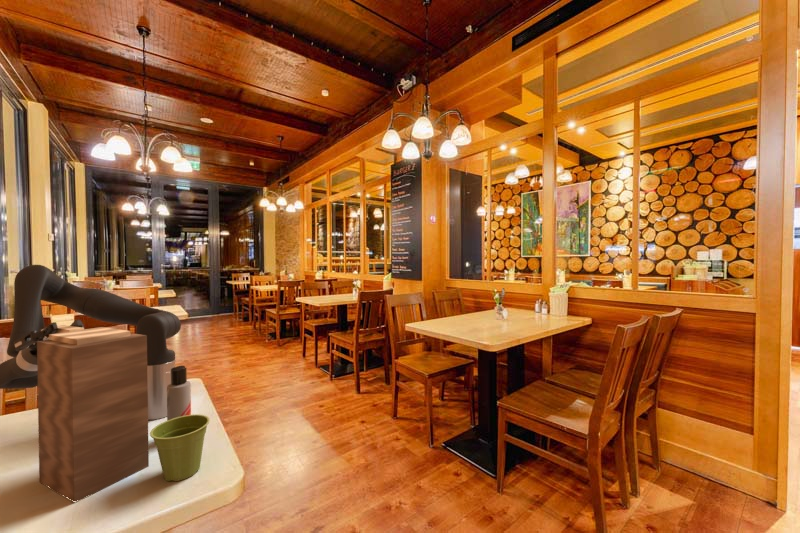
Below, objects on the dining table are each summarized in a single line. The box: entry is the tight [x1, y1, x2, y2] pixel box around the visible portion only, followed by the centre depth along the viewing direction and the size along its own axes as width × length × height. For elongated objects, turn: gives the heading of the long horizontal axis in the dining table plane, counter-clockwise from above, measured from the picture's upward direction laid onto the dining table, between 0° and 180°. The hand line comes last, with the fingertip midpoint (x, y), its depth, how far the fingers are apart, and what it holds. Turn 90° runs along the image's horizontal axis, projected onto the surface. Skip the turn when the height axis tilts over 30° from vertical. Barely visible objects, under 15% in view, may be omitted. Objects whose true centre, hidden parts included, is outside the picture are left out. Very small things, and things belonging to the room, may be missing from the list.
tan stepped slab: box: [49, 324, 131, 345], centre depth 82 cm, size 23×10×2 cm, turn 65°
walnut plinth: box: [37, 332, 150, 501], centre depth 80 cm, size 16×14×32 cm
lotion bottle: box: [166, 365, 192, 421], centre depth 97 cm, size 6×6×20 cm
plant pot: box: [149, 414, 210, 482], centre depth 80 cm, size 12×12×11 cm
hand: (67, 324), depth 85 cm, fingers open, 4 cm apart
